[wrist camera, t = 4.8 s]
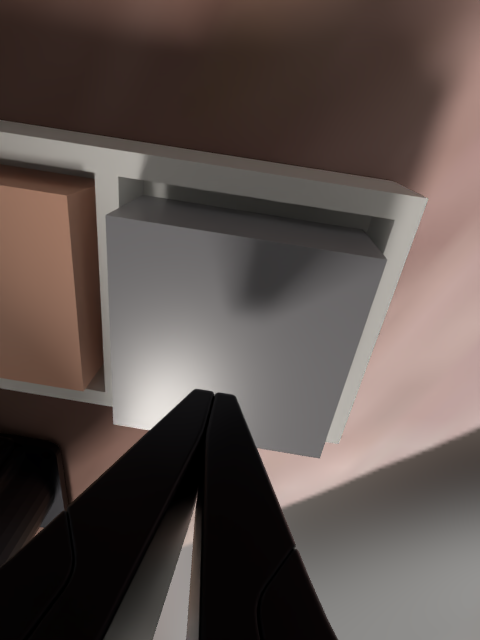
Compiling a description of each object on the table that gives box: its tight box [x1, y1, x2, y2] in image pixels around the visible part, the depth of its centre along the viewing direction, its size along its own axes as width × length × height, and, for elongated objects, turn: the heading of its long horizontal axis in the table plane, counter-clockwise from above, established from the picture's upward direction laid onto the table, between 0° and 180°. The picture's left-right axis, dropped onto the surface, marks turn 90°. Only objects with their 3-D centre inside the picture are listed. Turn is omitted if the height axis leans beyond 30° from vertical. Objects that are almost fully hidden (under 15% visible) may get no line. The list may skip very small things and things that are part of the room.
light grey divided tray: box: [0, 120, 428, 444], centre depth 12 cm, size 8×23×3 cm, turn 82°
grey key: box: [105, 195, 387, 458], centre depth 10 cm, size 6×6×2 cm
